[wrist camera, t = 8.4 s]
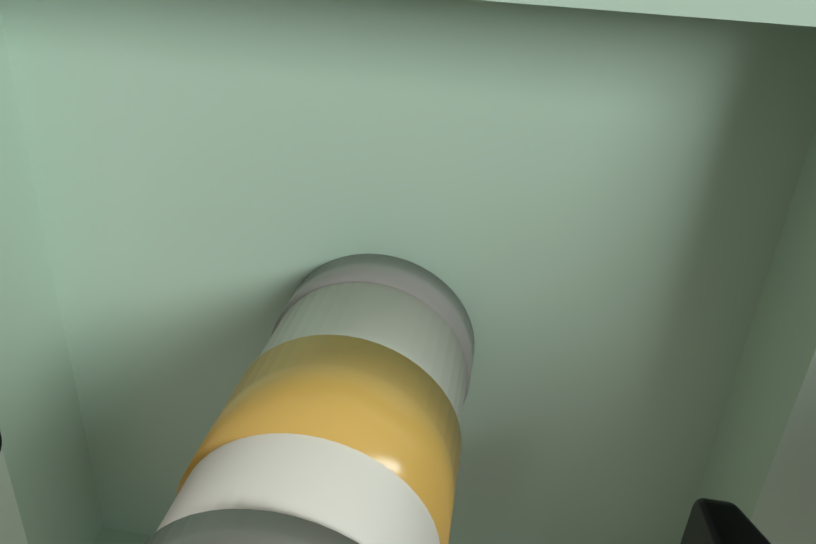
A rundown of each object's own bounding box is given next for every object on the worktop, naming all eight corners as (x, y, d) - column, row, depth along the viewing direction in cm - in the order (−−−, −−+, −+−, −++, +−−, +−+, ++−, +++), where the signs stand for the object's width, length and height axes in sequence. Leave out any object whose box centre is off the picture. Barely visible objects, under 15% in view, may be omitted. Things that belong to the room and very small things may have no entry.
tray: (955, -87, 9) (1107, -76, 6) (691, 636, 15) (718, 773, 12) (-70, -150, 10) (-249, -158, 8) (81, 531, 16) (7, 637, 14)
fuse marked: (484, 265, 11) (433, 619, 6) (466, 429, 12) (411, 829, 7) (281, 241, 11) (58, 553, 6) (286, 403, 13) (110, 766, 8)
